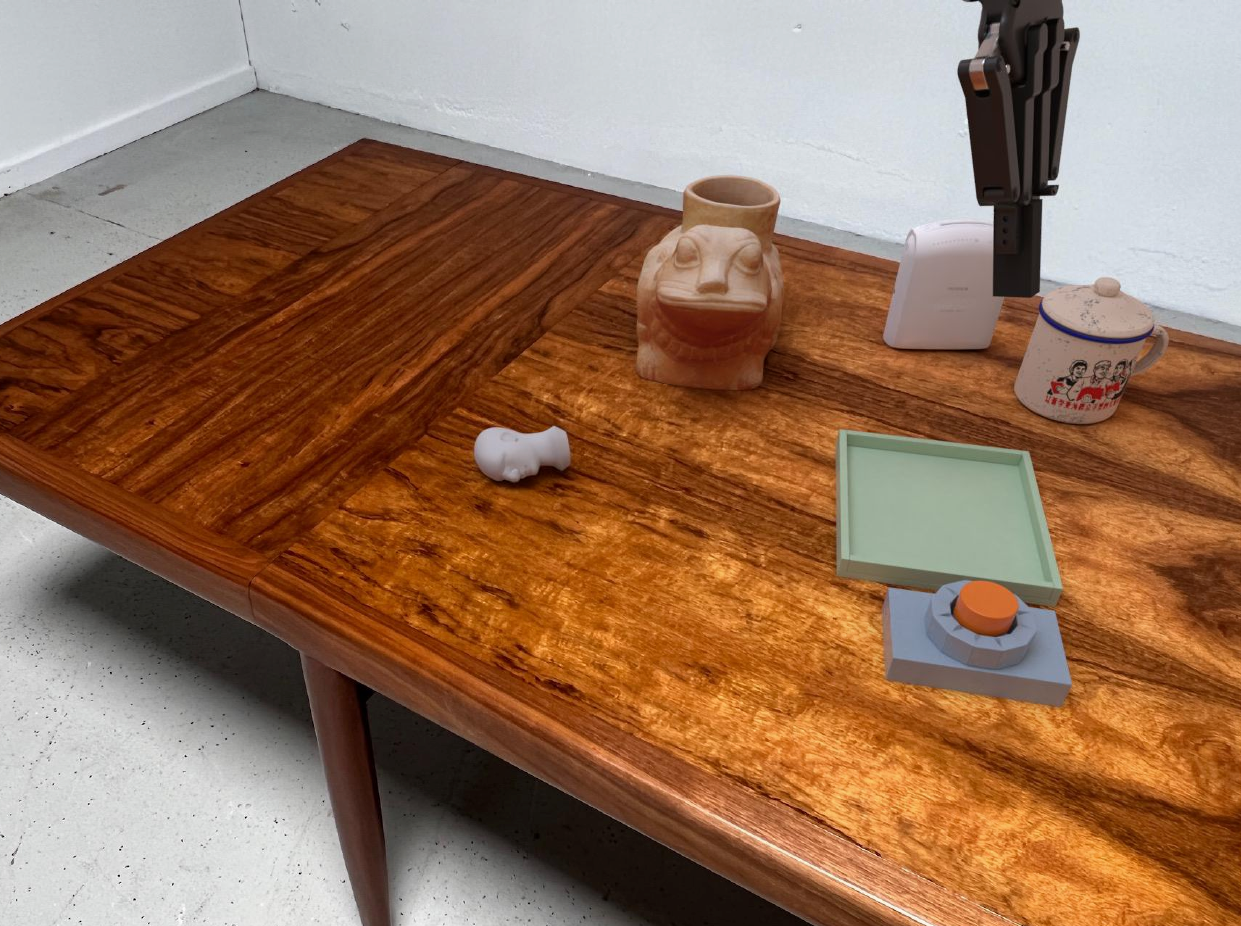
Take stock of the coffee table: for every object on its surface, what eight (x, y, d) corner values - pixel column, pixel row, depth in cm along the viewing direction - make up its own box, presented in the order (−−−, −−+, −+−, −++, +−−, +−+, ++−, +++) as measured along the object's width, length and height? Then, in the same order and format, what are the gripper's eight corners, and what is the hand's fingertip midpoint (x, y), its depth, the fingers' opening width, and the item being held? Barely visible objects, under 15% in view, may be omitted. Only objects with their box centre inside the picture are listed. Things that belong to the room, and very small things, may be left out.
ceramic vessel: (615, 405, 97) (626, 249, 87) (651, 277, 116) (662, 137, 107) (771, 423, 94) (800, 264, 85) (780, 289, 114) (805, 147, 104)
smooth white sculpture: (472, 494, 89) (478, 445, 91) (569, 498, 88) (572, 448, 91) (468, 463, 85) (474, 413, 88) (568, 467, 84) (572, 416, 87)
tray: (1022, 468, 89) (1029, 451, 88) (1055, 607, 76) (1063, 588, 75) (835, 446, 92) (839, 428, 91) (836, 576, 79) (841, 558, 78)
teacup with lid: (1036, 429, 94) (1082, 308, 86) (993, 375, 101) (1032, 259, 93) (1169, 423, 94) (1226, 303, 87) (1117, 370, 101) (1165, 254, 94)
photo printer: (886, 352, 104) (917, 230, 96) (876, 330, 107) (906, 210, 99) (994, 354, 104) (1034, 232, 96) (981, 332, 107) (1019, 212, 99)
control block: (1045, 633, 74) (1064, 590, 72) (1061, 708, 69) (1082, 665, 67) (881, 609, 76) (894, 567, 74) (885, 680, 71) (899, 637, 69)
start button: (1007, 603, 72) (1015, 584, 70) (1014, 641, 69) (1022, 621, 68) (951, 595, 72) (957, 576, 71) (955, 632, 69) (963, 613, 68)
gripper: (1010, -76, 73) (1005, 267, 84) (914, -55, 66) (921, 318, 76) (1129, -100, 68) (1108, 270, 78) (1039, -80, 61) (1029, 324, 71)
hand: (1016, 293), depth 77 cm, fingers closed
